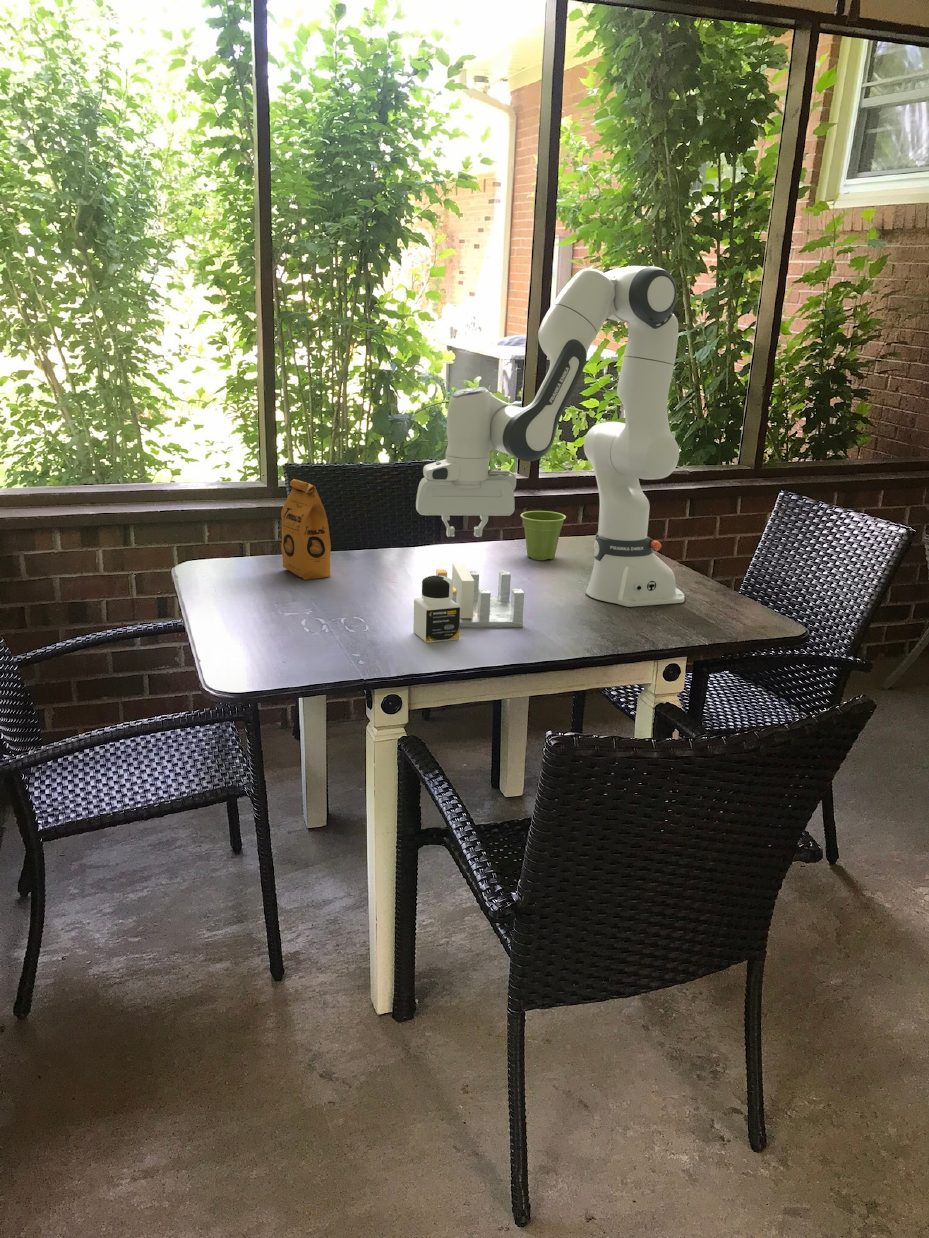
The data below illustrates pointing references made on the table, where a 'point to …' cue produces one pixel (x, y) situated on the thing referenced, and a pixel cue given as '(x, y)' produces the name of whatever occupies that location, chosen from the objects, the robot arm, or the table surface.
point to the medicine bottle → (436, 611)
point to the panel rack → (493, 604)
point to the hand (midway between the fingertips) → (464, 536)
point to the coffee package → (305, 533)
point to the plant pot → (542, 533)
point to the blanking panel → (463, 589)
